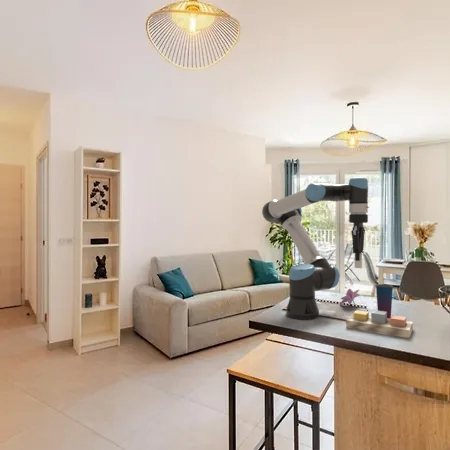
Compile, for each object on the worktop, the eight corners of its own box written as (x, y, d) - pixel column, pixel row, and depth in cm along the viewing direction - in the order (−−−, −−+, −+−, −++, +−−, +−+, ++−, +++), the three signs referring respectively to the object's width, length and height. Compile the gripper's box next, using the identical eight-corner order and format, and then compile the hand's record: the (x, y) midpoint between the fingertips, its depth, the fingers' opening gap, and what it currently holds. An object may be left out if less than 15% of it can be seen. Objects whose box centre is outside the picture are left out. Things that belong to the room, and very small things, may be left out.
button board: (346, 327, 137) (346, 320, 136) (353, 319, 146) (353, 313, 146) (409, 338, 123) (409, 330, 123) (412, 329, 133) (412, 321, 133)
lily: (364, 306, 172) (356, 289, 175) (369, 303, 161) (360, 284, 165) (342, 313, 172) (334, 296, 176) (346, 311, 161) (337, 292, 165)
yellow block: (353, 322, 138) (353, 312, 138) (356, 319, 142) (356, 310, 142) (366, 324, 135) (366, 314, 135) (368, 321, 139) (368, 311, 139)
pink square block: (390, 328, 130) (390, 318, 130) (392, 324, 134) (392, 315, 134) (404, 330, 127) (404, 320, 127) (406, 326, 131) (406, 317, 131)
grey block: (371, 322, 134) (371, 312, 134) (373, 319, 138) (373, 310, 138) (384, 324, 131) (384, 314, 131) (386, 321, 135) (386, 311, 135)
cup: (395, 321, 143) (394, 287, 143) (378, 321, 144) (378, 287, 144) (390, 317, 150) (390, 284, 149) (374, 316, 151) (374, 283, 151)
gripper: (363, 213, 135) (363, 270, 136) (371, 213, 145) (371, 266, 146) (345, 213, 139) (344, 269, 140) (353, 213, 150) (353, 265, 150)
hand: (358, 267), depth 143 cm, fingers closed
